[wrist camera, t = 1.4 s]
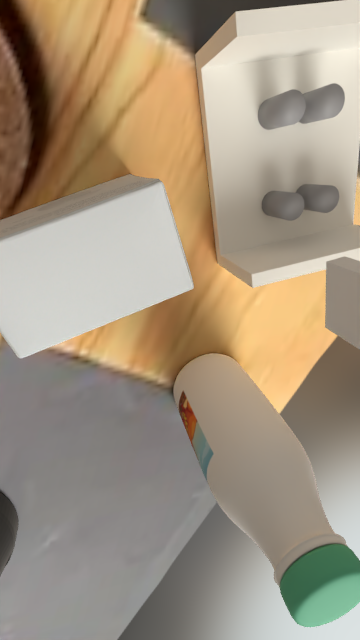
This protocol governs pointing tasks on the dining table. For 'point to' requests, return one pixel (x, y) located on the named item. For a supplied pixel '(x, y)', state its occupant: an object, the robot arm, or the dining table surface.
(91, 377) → the dining table surface
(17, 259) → the skincare box
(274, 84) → the peg frame
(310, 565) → the milk bottle
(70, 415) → the dining table surface
